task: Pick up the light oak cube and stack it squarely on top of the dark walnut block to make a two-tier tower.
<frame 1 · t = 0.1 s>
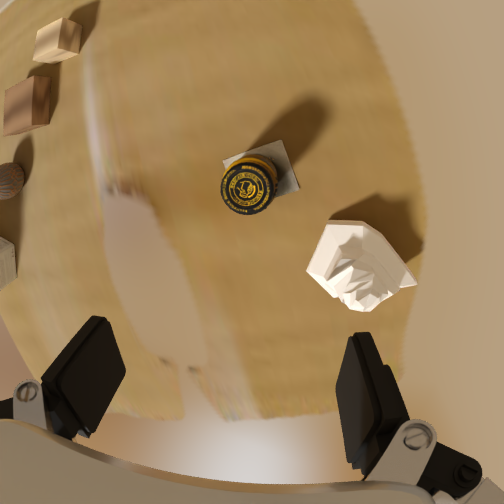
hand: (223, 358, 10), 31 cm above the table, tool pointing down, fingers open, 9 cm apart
condiment: (261, 174, 38), on the table
walnut block: (35, 106, 35), on the table
supplement box: (5, 254, 47), on the table
white faceted lump: (351, 258, 42), on the table
oak cube: (67, 44, 30), on the table
vase: (19, 176, 40), on the table
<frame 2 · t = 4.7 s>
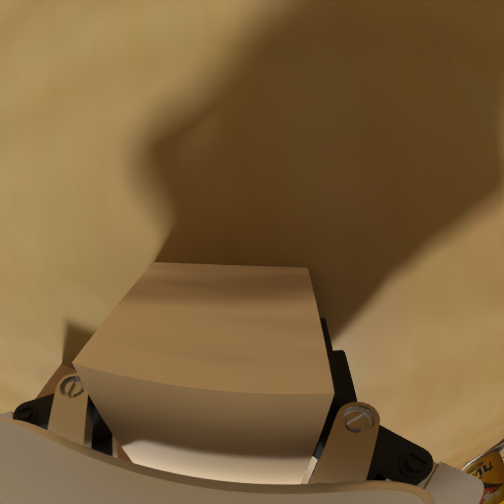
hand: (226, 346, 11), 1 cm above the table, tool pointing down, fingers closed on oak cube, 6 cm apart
condiment: (484, 457, 20), on the table
walnut block: (128, 420, 16), on the table
oak cube: (230, 328, 12), on the table, touching gripper
when the fingers open (7 cm above the table, at t = 9.1 s): oak cube stays where it is, resting on walnut block.
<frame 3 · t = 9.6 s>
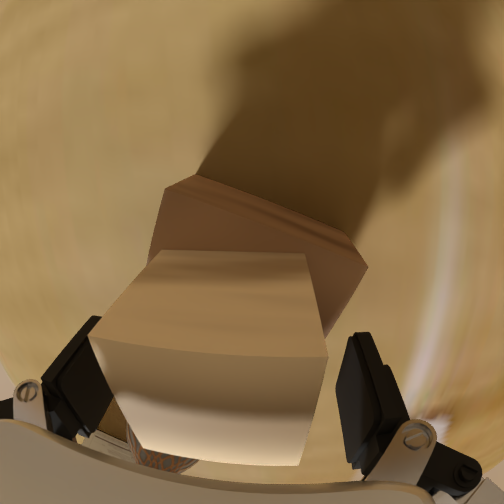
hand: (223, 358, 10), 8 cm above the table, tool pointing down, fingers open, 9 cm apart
walnut block: (244, 269, 17), on the table, touching oak cube
supplement box: (122, 450, 30), on the table
oak cube: (232, 312, 13), point 5 cm above the table, touching walnut block
vase: (179, 395, 23), on the table
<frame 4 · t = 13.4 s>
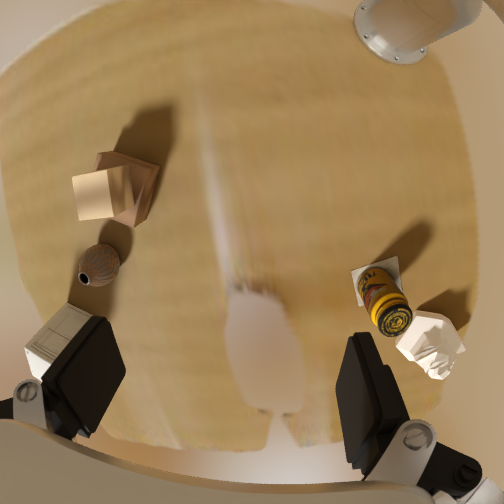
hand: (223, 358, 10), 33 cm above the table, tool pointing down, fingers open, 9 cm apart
condiment: (377, 280, 45), on the table
walnut block: (129, 184, 42), on the table, touching oak cube
supplement box: (84, 324, 54), on the table
white faceted lump: (424, 332, 49), on the table
oak cube: (114, 187, 37), point 5 cm above the table, touching walnut block
vase: (109, 256, 47), on the table
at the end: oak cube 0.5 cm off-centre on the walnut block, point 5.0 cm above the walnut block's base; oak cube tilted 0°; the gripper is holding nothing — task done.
